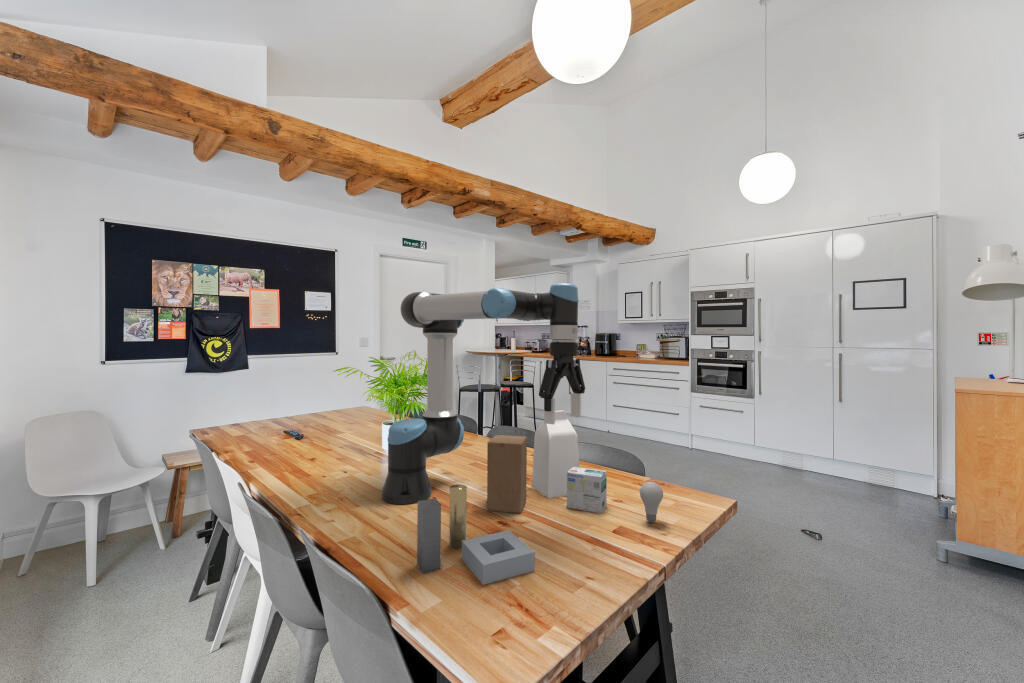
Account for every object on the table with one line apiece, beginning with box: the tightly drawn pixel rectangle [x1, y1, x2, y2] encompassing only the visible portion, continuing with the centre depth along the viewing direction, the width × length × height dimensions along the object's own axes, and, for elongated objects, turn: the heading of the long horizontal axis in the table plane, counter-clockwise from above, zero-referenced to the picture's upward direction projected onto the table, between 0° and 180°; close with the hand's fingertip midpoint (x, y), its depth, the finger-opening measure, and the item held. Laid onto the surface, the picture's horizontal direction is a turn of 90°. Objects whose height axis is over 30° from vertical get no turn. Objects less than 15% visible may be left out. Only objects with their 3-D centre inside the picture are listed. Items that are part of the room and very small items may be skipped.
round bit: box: [448, 484, 468, 550], centre depth 105 cm, size 4×4×14 cm
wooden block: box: [486, 434, 528, 514], centre depth 130 cm, size 10×10×20 cm
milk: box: [531, 410, 580, 499], centre depth 144 cm, size 12×12×26 cm
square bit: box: [416, 498, 442, 574], centre depth 95 cm, size 4×4×14 cm
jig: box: [461, 529, 536, 586], centre depth 96 cm, size 12×12×4 cm
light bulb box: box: [566, 467, 608, 514], centre depth 129 cm, size 11×7×11 cm, turn 65°
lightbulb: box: [639, 481, 664, 524], centre depth 119 cm, size 6×6×11 cm
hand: (563, 420), depth 118 cm, fingers open, 13 cm apart
